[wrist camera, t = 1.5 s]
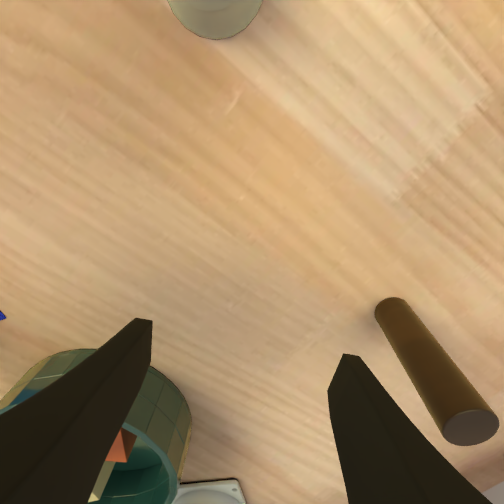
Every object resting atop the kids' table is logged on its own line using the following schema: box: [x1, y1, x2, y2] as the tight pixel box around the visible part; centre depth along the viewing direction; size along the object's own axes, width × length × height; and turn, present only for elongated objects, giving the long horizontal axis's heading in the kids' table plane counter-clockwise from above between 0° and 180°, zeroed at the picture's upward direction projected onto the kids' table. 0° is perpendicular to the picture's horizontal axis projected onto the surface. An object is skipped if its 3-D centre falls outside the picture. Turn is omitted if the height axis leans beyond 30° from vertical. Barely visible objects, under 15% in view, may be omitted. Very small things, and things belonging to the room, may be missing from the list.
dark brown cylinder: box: [375, 298, 499, 446], centre depth 17 cm, size 2×2×9 cm
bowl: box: [0, 349, 192, 504], centre depth 25 cm, size 15×15×5 cm
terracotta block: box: [105, 427, 137, 462], centre depth 23 cm, size 4×4×4 cm
